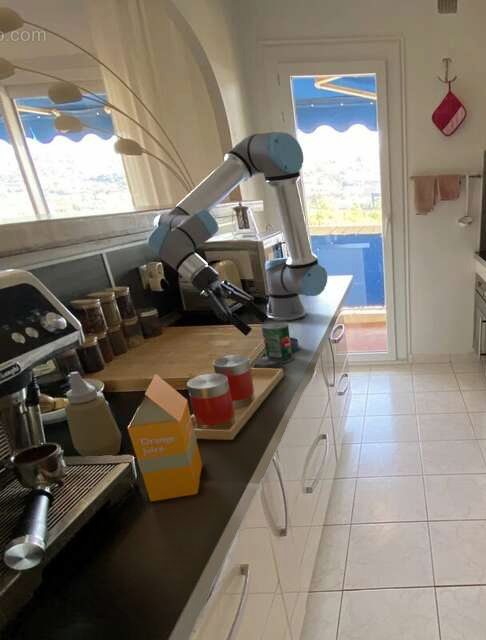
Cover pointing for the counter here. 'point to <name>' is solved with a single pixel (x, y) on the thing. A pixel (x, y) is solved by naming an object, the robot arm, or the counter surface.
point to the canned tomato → (277, 340)
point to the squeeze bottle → (90, 420)
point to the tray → (262, 386)
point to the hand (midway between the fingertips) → (257, 325)
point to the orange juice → (166, 443)
